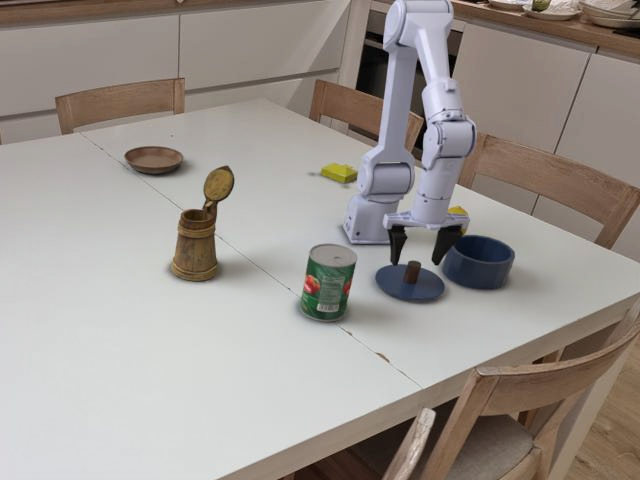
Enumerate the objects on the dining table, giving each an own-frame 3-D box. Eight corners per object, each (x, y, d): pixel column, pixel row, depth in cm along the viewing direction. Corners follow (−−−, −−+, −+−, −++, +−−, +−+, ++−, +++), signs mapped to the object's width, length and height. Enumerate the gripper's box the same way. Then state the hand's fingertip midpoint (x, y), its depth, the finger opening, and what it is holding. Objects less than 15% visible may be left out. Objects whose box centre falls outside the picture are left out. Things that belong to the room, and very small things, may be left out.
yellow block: (312, 174, 167) (313, 163, 165) (334, 165, 172) (336, 154, 170) (345, 186, 161) (347, 175, 159) (367, 177, 166) (369, 165, 164)
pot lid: (385, 303, 120) (391, 281, 117) (366, 269, 130) (371, 247, 127) (453, 303, 121) (461, 280, 118) (429, 268, 130) (435, 247, 127)
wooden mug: (240, 259, 132) (249, 171, 121) (199, 286, 124) (204, 194, 113) (203, 245, 137) (208, 158, 126) (161, 270, 128) (163, 180, 117)
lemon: (464, 250, 137) (475, 213, 132) (435, 247, 137) (446, 210, 133) (460, 237, 141) (471, 202, 136) (432, 234, 142) (442, 199, 137)
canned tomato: (291, 302, 120) (299, 247, 113) (328, 294, 122) (338, 239, 116) (316, 326, 114) (327, 269, 107) (354, 316, 117) (367, 260, 110)
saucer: (147, 151, 178) (147, 141, 176) (194, 164, 171) (194, 153, 169) (112, 168, 168) (111, 157, 166) (160, 182, 161) (160, 171, 160)
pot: (455, 290, 124) (464, 263, 121) (433, 259, 133) (440, 234, 130) (515, 289, 125) (526, 263, 121) (489, 259, 134) (498, 234, 130)
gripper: (399, 202, 111) (381, 274, 119) (485, 202, 111) (461, 274, 120) (386, 185, 116) (370, 254, 125) (469, 185, 117) (447, 254, 125)
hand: (414, 262), depth 122 cm, fingers open, 7 cm apart
